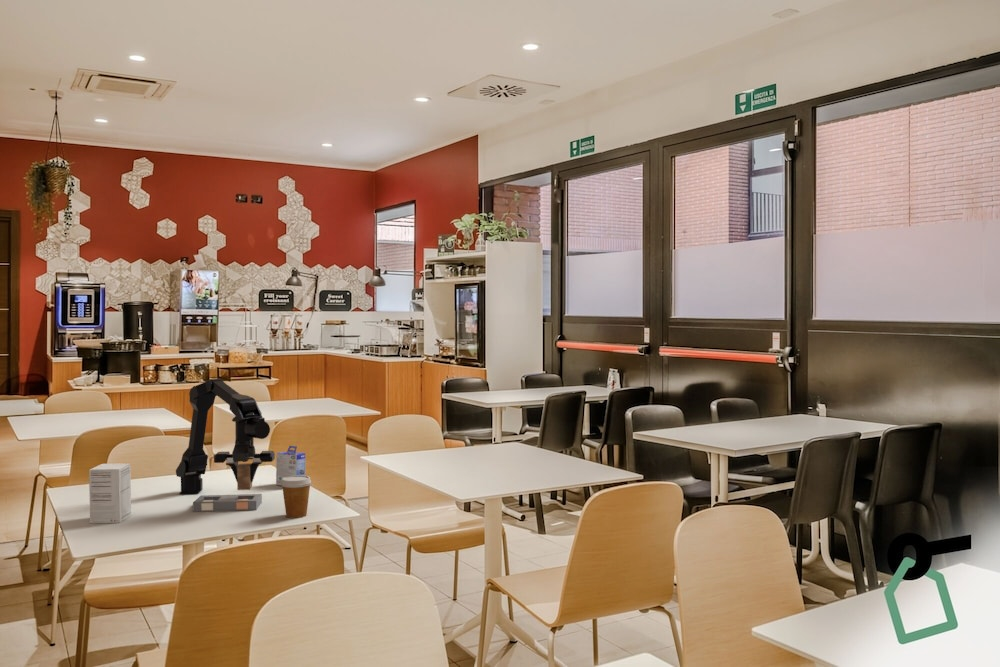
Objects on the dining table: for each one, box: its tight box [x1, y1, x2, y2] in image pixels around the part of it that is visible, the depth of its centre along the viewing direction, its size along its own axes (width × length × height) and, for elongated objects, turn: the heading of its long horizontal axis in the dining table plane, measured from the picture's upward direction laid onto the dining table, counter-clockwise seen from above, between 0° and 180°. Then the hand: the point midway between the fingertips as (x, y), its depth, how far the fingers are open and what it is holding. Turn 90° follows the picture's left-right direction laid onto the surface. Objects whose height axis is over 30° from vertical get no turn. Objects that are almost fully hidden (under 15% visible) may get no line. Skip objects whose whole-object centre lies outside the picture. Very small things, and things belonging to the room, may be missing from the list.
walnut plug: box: [236, 462, 253, 491], centre depth 269 cm, size 4×4×8 cm
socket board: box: [192, 493, 263, 512], centre depth 269 cm, size 20×10×3 cm, turn 97°
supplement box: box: [88, 463, 132, 524], centre depth 253 cm, size 10×9×17 cm
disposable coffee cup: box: [281, 475, 312, 519], centre depth 257 cm, size 10×10×12 cm
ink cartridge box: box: [275, 445, 306, 487], centre depth 302 cm, size 10×6×14 cm, turn 66°
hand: (244, 482), depth 269 cm, fingers closed on walnut plug, 4 cm apart
